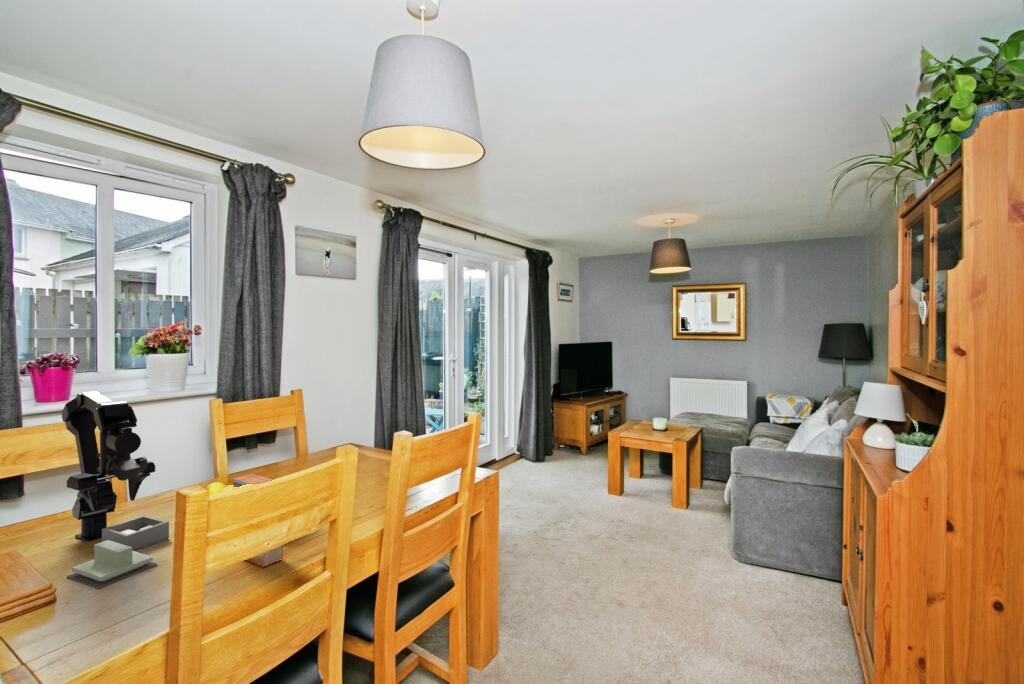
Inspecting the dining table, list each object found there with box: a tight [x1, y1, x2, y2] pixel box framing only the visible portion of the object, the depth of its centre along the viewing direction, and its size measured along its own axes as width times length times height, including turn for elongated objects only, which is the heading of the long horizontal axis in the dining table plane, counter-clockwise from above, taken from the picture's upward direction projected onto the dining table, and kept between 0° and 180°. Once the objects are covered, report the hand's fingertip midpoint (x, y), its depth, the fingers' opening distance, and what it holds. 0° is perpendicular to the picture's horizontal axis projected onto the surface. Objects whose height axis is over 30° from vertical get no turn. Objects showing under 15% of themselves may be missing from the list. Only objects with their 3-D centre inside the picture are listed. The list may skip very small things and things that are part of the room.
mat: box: [66, 561, 158, 590], centre depth 125 cm, size 13×13×1 cm
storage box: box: [101, 514, 170, 552], centre depth 141 cm, size 11×11×5 cm
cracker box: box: [233, 473, 284, 568], centre depth 134 cm, size 14×6×21 cm, turn 58°
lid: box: [71, 540, 154, 582], centre depth 125 cm, size 12×12×6 cm
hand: (113, 505), depth 137 cm, fingers open, 9 cm apart
